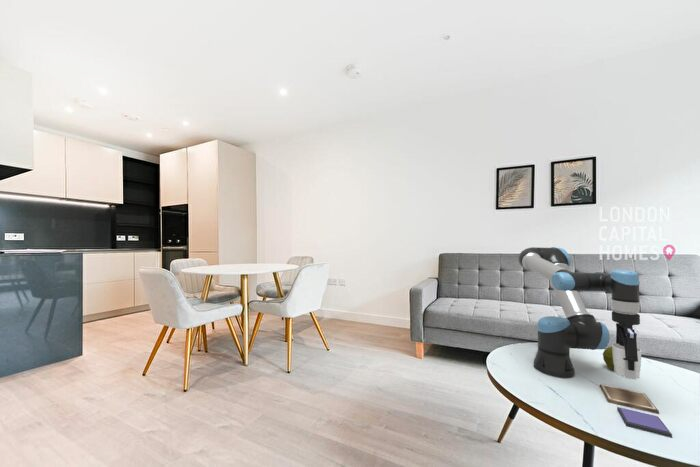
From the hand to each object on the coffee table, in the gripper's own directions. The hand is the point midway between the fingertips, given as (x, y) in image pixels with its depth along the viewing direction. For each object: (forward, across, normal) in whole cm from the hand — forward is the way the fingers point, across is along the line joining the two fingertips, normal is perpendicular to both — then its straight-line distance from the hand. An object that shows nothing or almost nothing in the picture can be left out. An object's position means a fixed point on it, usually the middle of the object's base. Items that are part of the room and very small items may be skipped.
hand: (626, 373), depth 105 cm
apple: (+9, +30, -4) cm, 32 cm away
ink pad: (+9, -16, 0) cm, 18 cm away
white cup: (0, 0, 0) cm, 0 cm away
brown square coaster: (+9, 0, 0) cm, 9 cm away
